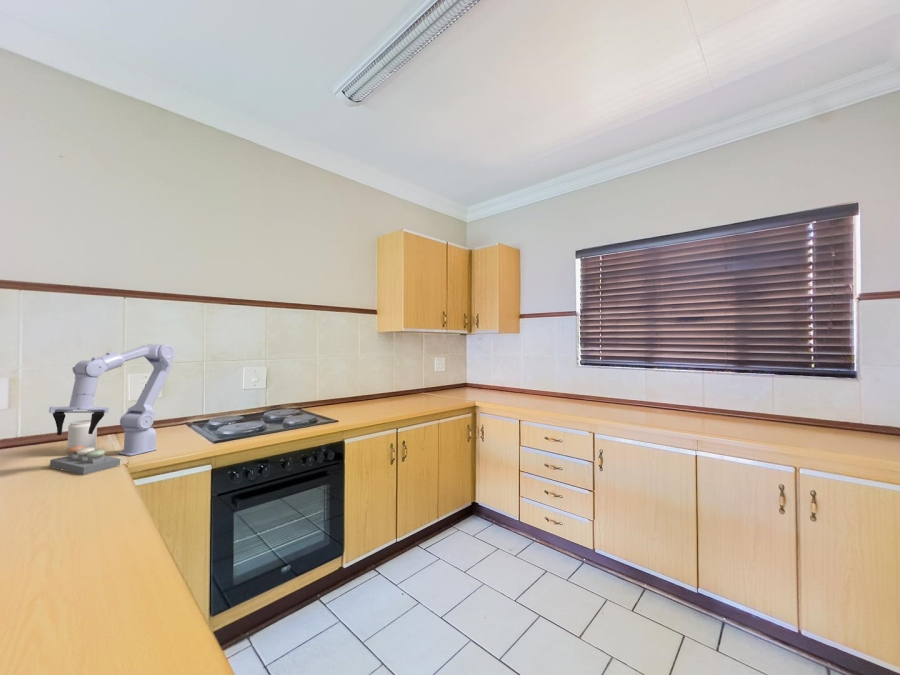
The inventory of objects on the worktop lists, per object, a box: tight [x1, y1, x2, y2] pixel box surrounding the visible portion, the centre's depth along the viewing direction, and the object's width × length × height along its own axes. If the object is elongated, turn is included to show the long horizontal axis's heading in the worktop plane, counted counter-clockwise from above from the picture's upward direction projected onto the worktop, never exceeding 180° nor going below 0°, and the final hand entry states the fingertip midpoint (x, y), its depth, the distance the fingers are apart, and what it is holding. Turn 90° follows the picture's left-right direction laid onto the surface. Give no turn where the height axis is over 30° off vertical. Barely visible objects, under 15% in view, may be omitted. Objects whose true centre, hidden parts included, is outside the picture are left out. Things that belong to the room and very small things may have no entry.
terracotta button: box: [66, 446, 85, 459], centre depth 130 cm, size 4×4×4 cm
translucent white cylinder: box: [66, 419, 98, 450], centre depth 144 cm, size 8×8×12 cm
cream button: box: [77, 448, 95, 461], centre depth 128 cm, size 4×4×4 cm
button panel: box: [49, 455, 121, 476], centre depth 128 cm, size 20×10×2 cm, turn 69°
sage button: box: [87, 449, 106, 464], centre depth 126 cm, size 4×4×4 cm
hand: (74, 434), depth 126 cm, fingers open, 7 cm apart
